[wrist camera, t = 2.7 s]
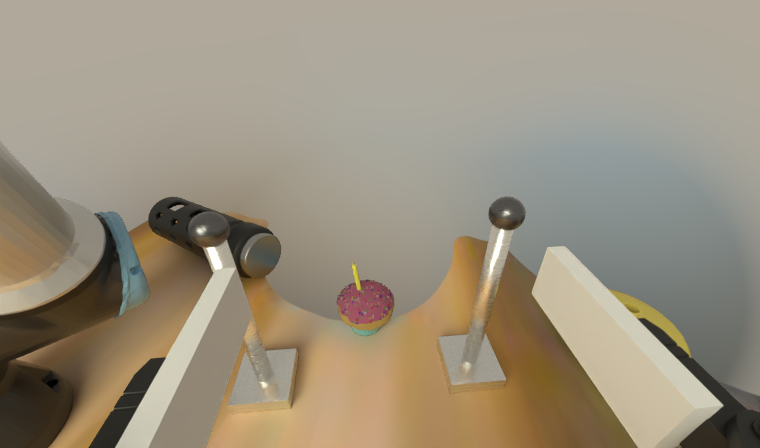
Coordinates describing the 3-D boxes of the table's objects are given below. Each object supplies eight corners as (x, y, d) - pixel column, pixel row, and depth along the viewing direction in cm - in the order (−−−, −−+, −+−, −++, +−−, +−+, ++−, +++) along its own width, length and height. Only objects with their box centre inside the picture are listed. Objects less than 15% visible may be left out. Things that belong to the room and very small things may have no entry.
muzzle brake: (200, 227, 72) (184, 188, 66) (289, 265, 60) (279, 221, 54) (159, 249, 65) (137, 207, 59) (250, 296, 53) (234, 249, 48)
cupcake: (328, 330, 47) (319, 272, 40) (360, 295, 53) (356, 239, 46) (375, 356, 43) (373, 297, 36) (403, 316, 49) (406, 258, 43)
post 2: (450, 393, 39) (487, 221, 24) (436, 345, 44) (460, 183, 30) (503, 388, 39) (570, 216, 25) (483, 341, 45) (528, 180, 31)
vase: (605, 292, 53) (622, 261, 49) (709, 374, 41) (743, 341, 37) (530, 312, 50) (542, 281, 46) (618, 410, 37) (645, 378, 33)
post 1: (232, 414, 37) (136, 240, 23) (248, 361, 43) (180, 196, 28) (290, 408, 37) (232, 235, 23) (298, 356, 43) (256, 193, 29)
